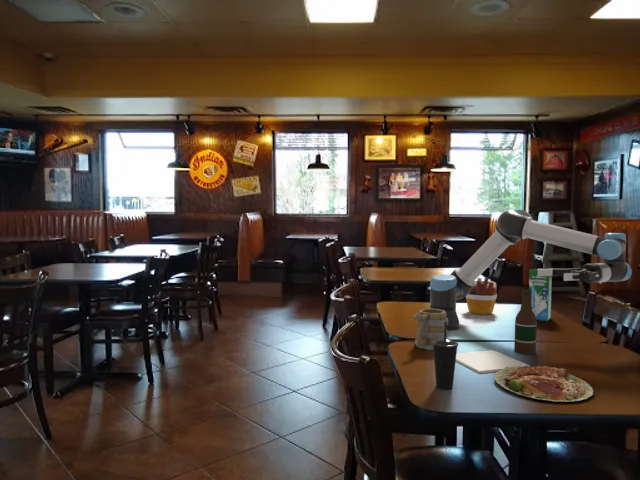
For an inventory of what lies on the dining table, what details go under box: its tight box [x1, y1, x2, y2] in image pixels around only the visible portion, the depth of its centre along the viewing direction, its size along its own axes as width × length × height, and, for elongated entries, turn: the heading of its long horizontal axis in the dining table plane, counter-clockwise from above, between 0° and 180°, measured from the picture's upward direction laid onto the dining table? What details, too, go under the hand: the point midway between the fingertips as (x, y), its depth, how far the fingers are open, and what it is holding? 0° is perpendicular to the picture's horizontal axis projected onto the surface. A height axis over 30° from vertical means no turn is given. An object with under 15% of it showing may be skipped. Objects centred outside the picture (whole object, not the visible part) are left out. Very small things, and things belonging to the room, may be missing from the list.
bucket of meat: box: [465, 277, 498, 316], centre depth 265 cm, size 20×16×20 cm
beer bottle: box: [513, 288, 538, 356], centre depth 192 cm, size 8×8×24 cm
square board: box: [455, 349, 531, 374], centre depth 179 cm, size 20×20×1 cm
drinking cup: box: [432, 322, 459, 391], centre depth 153 cm, size 8×8×20 cm
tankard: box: [412, 308, 449, 351], centre depth 197 cm, size 20×13×15 cm, turn 134°
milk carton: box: [528, 268, 553, 322], centre depth 252 cm, size 9×9×25 cm
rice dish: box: [493, 364, 595, 403], centre depth 155 cm, size 28×28×5 cm
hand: (550, 274), depth 194 cm, fingers open, 13 cm apart
